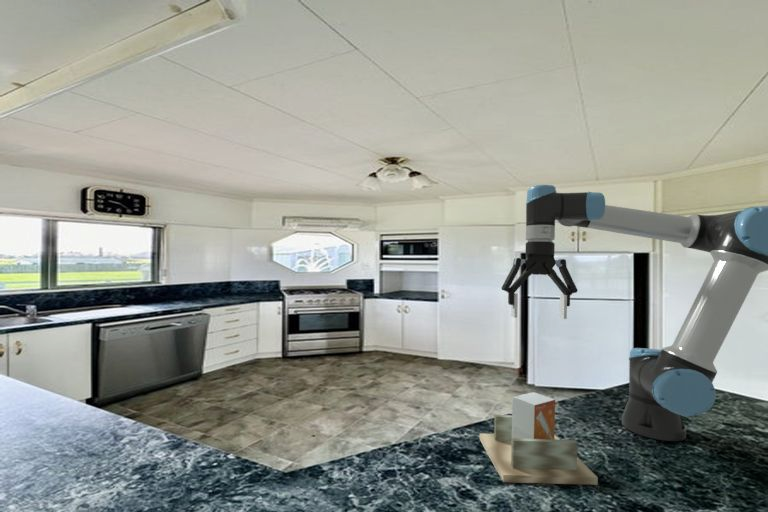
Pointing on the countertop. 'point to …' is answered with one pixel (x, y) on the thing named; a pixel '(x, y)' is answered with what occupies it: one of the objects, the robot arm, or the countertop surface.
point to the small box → (533, 417)
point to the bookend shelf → (534, 457)
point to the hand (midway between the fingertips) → (538, 317)
